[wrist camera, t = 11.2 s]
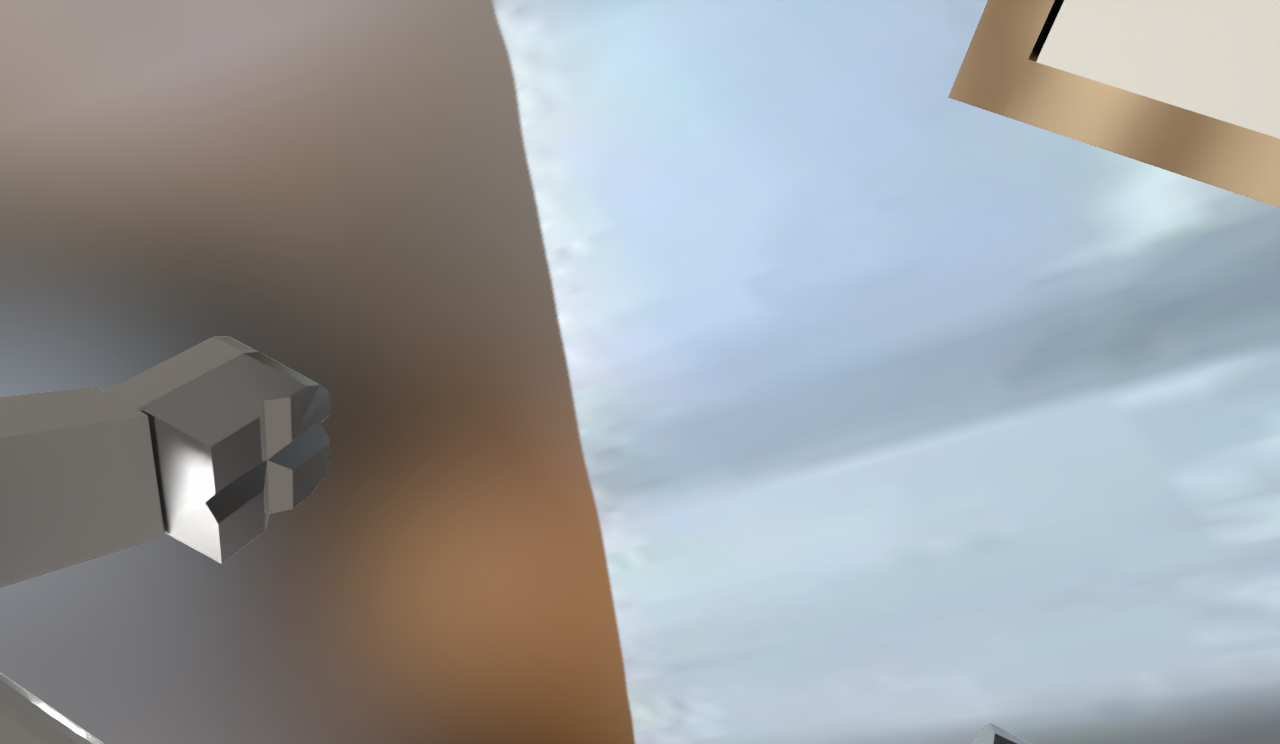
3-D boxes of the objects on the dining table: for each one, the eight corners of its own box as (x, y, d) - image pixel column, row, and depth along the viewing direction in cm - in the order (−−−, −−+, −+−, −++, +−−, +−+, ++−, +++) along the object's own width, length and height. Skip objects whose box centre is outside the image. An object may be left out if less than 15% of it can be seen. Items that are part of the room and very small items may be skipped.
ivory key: (1487, 7, 28) (1521, 19, 26) (1381, 154, 31) (1403, 177, 29) (1106, -94, 31) (1105, -91, 29) (1041, 49, 34) (1036, 62, 32)
